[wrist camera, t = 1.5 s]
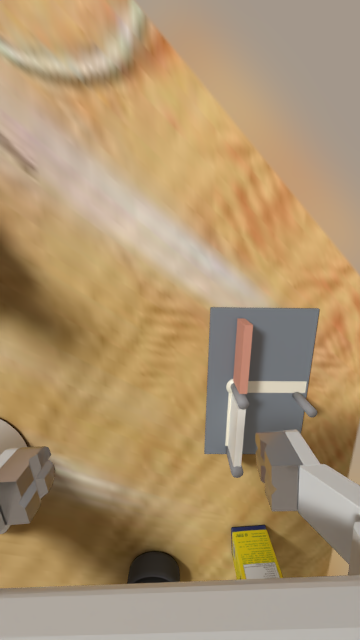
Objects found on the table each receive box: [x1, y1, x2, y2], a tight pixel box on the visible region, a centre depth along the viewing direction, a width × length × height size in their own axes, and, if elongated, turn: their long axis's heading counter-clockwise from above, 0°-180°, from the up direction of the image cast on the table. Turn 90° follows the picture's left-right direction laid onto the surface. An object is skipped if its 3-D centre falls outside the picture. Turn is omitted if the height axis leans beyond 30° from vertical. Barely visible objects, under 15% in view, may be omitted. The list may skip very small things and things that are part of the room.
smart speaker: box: [127, 552, 180, 584], centre depth 41 cm, size 9×9×4 cm
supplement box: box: [231, 525, 283, 580], centre depth 36 cm, size 6×6×11 cm
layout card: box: [204, 307, 319, 454], centre depth 34 cm, size 23×14×1 cm, turn 179°
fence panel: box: [233, 318, 253, 394], centre depth 31 cm, size 9×1×4 cm, turn 179°
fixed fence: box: [226, 383, 317, 478], centre depth 34 cm, size 12×10×5 cm
